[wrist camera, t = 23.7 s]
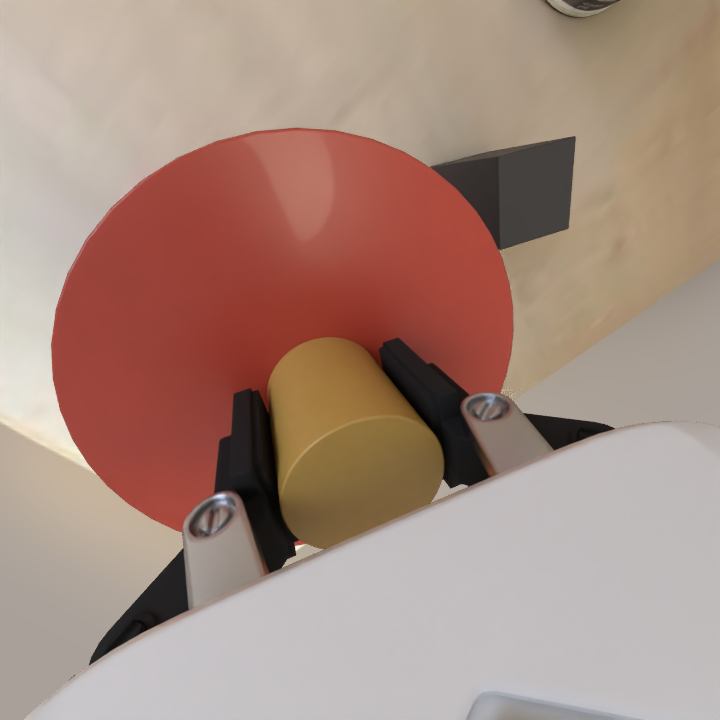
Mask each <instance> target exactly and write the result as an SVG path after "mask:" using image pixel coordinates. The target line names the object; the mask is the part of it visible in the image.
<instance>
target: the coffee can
mask: <svg viewBox="0 0 720 720" xmlns="http://www.w3.org/2000/svg"><path fill="white" fill-rule="evenodd" d="M547 1H548V2H549V3H550V4H551V5H552V6H553V7H554V8H555V9H557V10H558V11H560V12H562V13H564V14H566V15H570V16H574V17H587V16H591V15H595V14H597V13H599V12H602V11H604V10H606V9H607V8H609V7H610V6H612V5H613V4H614V3H616V2H618V1H619V0H547Z"/></svg>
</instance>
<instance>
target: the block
mask: <svg viewBox="0 0 720 720" xmlns="http://www.w3.org/2000/svg"><path fill="white" fill-rule="evenodd" d="M575 139H576V137H575V136H573V137H568V138H562V139H557V140H551V141H546V142H540V143H535V144H529V145H523V146H518V147H512V148H507V149H501V150H496V151H490V152H486V153H482V154H478V155H474V156H470V157H466V158H463V159H459V160H455V161H451V162H447V163H443V164H439V165H435V166H431V168H432V169H433V170H435V171H436V172H437V173H438V174H439V175H441V176H442V177H443V178H444V179H445V180H447V181H448V182H449V183H450V184H451V185H453V186H454V187H455V188H456V189H457V190H458V191H459V192H460V193H461V194H462V196H463V197H464V198H465V199H466V200H467V201H468V202H469V204H470V205H471V206H472V207H473V208H474V209H475V210H476V212H477V213H478V215H479V216H480V218H481V219H482V221H483V222H484V224H485V226H486V227H487V229H488V230H489V232H490V233H491V235H492V237H493V239H494V242H495V244H496V246H497V248H498V250H501V249H505V248H508V247H511V246H514V245H517V244H521V243H524V242H527V241H530V240H534V239H537V238H540V237H543V236H546V235H550V234H553V233H556V232H559V231H562V230H566V229H568V228H569V215H570V203H571V190H572V177H573V165H574V152H575Z"/></svg>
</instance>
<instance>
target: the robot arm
mask: <svg viewBox="0 0 720 720" xmlns="http://www.w3.org/2000/svg"><path fill="white" fill-rule="evenodd" d="M379 354H380V358H381V363H382V368H383V371H384V372H385V373H386V375H387V376H388V377H389V378H390V380H391V381H392V382H393V383H394V385H395V386H396V387H397V388H398V389H399V391H400V392H401V393H402V394H403V396H404V397H405V398H406V399H407V401H408V402H409V403H410V404H411V406H412V407H413V408H414V409H415V411H416V412H417V413H418V414H419V416H420V417H421V418H422V419H423V421H424V422H425V423H426V424H427V426H428V427H429V428H430V429H431V431H432V432H433V433H434V434H435V435H436V437H437V438H438V440H439V442H440V444H441V447H442V450H443V454H444V474H443V478H442V480H443V479H444V480H445V482H446V483H447V484H448V486H449V487H450V488H453V487H455V486H458V485H460V484H464V485H468V487H467V488H465V489H462V490H460V491H458V492H455V493H453V494H451V495H448V496H446V497H444V498H442V499H439V500H437V501H434V502H432V503H430V504H427V505H425V506H423V507H420V508H418V509H416V510H414V511H411V512H409V513H407V514H404V515H402V516H400V517H397V518H395V519H393V520H391V521H388V522H386V523H384V524H381V525H379V526H377V527H374V528H372V529H370V530H368V531H365V532H363V533H361V534H358V535H356V536H354V537H351V538H349V539H347V540H345V541H342V542H340V543H338V544H335V545H333V546H331V547H329V548H326V549H324V550H322V551H320V552H317V553H315V554H313V555H311V556H308V557H306V558H304V559H302V560H299V561H297V562H295V563H292V564H290V565H288V566H286V567H283V568H282V566H283V565H284V563H285V562H286V560H287V559H289V558H291V557H293V556H296V551H295V544H294V543H295V542H297V541H299V539H298V538H297V537H296V536H295V535H293V534H292V532H291V531H290V530H289V529H288V528H287V526H286V524H285V522H284V521H283V518H282V515H281V512H280V504H279V496H278V487H277V478H276V470H275V461H274V452H273V444H272V435H271V426H270V417H269V413H268V410H267V408H266V406H265V404H264V401H263V399H262V397H261V394H260V392H259V390H255V391H252V389H251V388H248V389H245V390H242V391H239V392H237V393H234V394H233V411H232V429H231V435H229V436H226V437H224V438H221V439H220V441H219V449H218V459H217V468H216V478H215V488H214V494H213V495H210V496H208V497H207V498H205V499H204V500H202V501H201V502H199V503H198V504H197V505H196V506H195V507H194V508H193V509H192V510H191V512H190V513H189V514H188V516H187V517H186V520H185V522H184V524H183V530H182V536H183V549H182V550H181V551H180V552H179V553H178V554H177V556H176V557H175V558H174V559H173V560H172V561H171V562H170V563H169V564H168V566H167V567H166V568H165V569H164V570H163V571H162V572H161V573H160V574H159V576H158V577H157V578H156V579H155V580H154V581H153V582H152V583H151V584H150V585H149V587H148V588H147V589H146V590H145V591H144V592H143V593H142V594H141V595H140V597H139V598H138V599H137V600H136V601H135V602H134V603H133V604H132V606H131V607H130V608H129V609H128V610H127V611H126V612H125V613H124V614H123V615H122V617H121V618H120V619H119V620H118V621H117V622H116V623H115V624H114V625H113V627H112V628H111V629H110V630H109V631H108V632H107V634H106V635H105V636H104V637H103V639H102V640H101V641H100V643H99V644H98V646H97V648H96V650H95V652H94V653H93V655H92V657H91V660H90V663H89V666H88V667H87V668H85V669H84V670H82V671H81V672H79V673H78V674H77V675H74V676H73V677H72V678H71V679H70V680H69V681H68V682H67V683H65V684H64V685H63V686H62V687H60V688H59V689H58V690H57V691H55V692H54V693H53V694H52V695H51V696H49V697H48V698H47V699H45V700H44V701H43V702H42V703H41V704H40V705H39V706H38V707H37V708H36V709H34V710H33V711H32V712H31V713H30V714H29V715H28V716H27V717H26V718H25V719H24V720H720V427H718V426H714V425H710V424H705V423H700V422H689V421H663V422H652V423H641V424H636V425H631V426H625V427H620V428H617V429H615V428H613V427H610V426H608V425H605V424H601V423H596V422H590V421H582V420H574V419H565V418H557V417H550V416H542V415H534V414H526V413H522V411H521V410H520V409H519V408H518V407H517V405H516V404H515V403H514V402H513V401H512V400H511V399H510V398H509V397H507V396H505V395H503V394H501V393H496V392H486V391H485V392H477V393H474V394H471V395H469V394H468V393H467V392H466V391H465V390H464V389H463V388H461V387H460V386H459V385H458V384H457V383H456V382H455V381H453V380H452V379H451V378H450V377H449V376H448V375H447V374H445V373H444V372H443V371H442V370H441V369H440V368H439V367H437V366H436V365H435V364H434V363H429V364H427V363H426V362H425V361H424V360H423V359H421V358H420V357H419V356H418V355H417V354H416V353H415V352H414V351H413V350H412V349H410V348H409V347H408V346H407V345H406V344H405V343H404V342H403V341H402V340H401V339H399V338H395V339H392V340H389V341H386V342H383V347H381V348H379Z"/></svg>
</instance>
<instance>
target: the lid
mask: <svg viewBox="0 0 720 720" xmlns="http://www.w3.org/2000/svg"><path fill="white" fill-rule="evenodd" d="M395 338H399V339H401V340H402V341H403V342H404V343H405V344H406V345H407V346H408V347H409V348H410V349H412V350H413V351H414V352H415V353H416V354H417V355H418V356H419V357H420V358H421V359H423V360H424V361H425V362H426V363H427V364H429V363H434V364H435V365H436V366H437V367H439V368H440V369H441V370H442V371H443V372H444V373H445V374H447V375H448V376H449V377H450V378H451V379H452V380H453V381H455V382H456V383H457V384H458V385H459V386H460V387H461V388H463V389H464V390H465V391H466V392H467V393H468V394H469V395H471V394H474V393H477V392H485V391H486V392H496V393H500V392H501V389H502V386H503V383H504V381H505V378H506V374H507V370H508V365H509V361H510V356H511V349H512V340H513V304H512V297H511V291H510V284H509V280H508V277H507V273H506V270H505V266H504V263H503V260H502V257H501V255H500V253H499V250H498V248H497V246H496V244H495V242H494V239H493V237H492V235H491V233H490V232H489V230H488V229H487V227H486V226H485V224H484V222H483V221H482V219H481V218H480V216H479V215H478V213H477V212H476V210H475V209H474V208H473V207H472V206H471V205H470V204H469V202H468V201H467V200H466V199H465V198H464V197H463V196H462V194H461V193H460V192H459V191H458V190H457V189H456V188H455V187H454V186H453V185H451V184H450V183H449V182H448V181H447V180H445V179H444V178H443V177H442V176H441V175H439V174H438V173H437V172H436V171H435V170H433V169H432V168H430V167H429V166H427V165H425V164H424V163H422V162H420V161H419V160H417V159H415V158H414V157H412V156H410V155H409V154H407V153H405V152H403V151H401V150H398V149H396V148H393V147H391V146H388V145H386V144H383V143H381V142H378V141H376V140H374V139H370V138H366V137H362V136H357V135H353V134H349V133H345V132H340V131H336V130H322V129H308V128H288V129H276V130H265V131H255V132H251V133H247V134H243V135H239V136H235V137H231V138H227V139H223V140H219V141H216V142H213V143H211V144H209V145H206V146H204V147H202V148H199V149H197V150H194V151H192V152H190V153H187V154H185V155H183V156H180V157H178V158H176V159H175V160H173V161H172V162H170V163H168V164H167V165H165V166H164V167H162V168H160V169H159V170H157V171H156V172H154V173H153V174H151V175H149V176H148V177H146V178H145V179H143V180H142V181H141V182H139V183H138V184H137V185H136V186H135V187H134V188H133V189H132V190H130V191H129V192H128V193H127V194H126V195H125V196H124V197H123V198H122V199H120V200H119V201H118V202H117V203H116V204H115V205H114V206H113V207H111V209H110V210H109V211H108V212H107V214H106V215H105V216H104V217H103V219H102V220H101V221H100V222H99V224H98V225H97V226H96V227H95V229H94V230H93V231H92V233H91V234H90V235H89V236H88V238H87V239H86V240H85V242H84V244H83V246H82V248H81V250H80V252H79V253H78V255H77V257H76V259H75V261H74V263H73V264H72V266H71V268H70V270H69V272H68V274H67V277H66V280H65V283H64V286H63V289H62V292H61V295H60V298H59V301H58V304H57V307H56V312H55V320H54V327H53V335H52V342H51V350H52V371H53V381H54V386H55V390H56V394H57V399H58V403H59V407H60V411H61V414H62V416H63V418H64V421H65V423H66V425H67V428H68V430H69V432H70V435H71V437H72V439H73V441H74V443H75V444H76V446H77V447H78V449H79V450H80V452H81V454H82V455H83V457H84V458H85V460H86V461H87V463H88V464H89V466H90V467H91V468H92V469H93V470H94V471H95V472H96V474H97V475H98V476H99V477H100V478H101V479H102V480H103V482H104V483H105V484H106V485H107V486H108V487H109V488H110V489H112V490H113V491H114V492H115V493H116V494H117V495H119V496H120V497H121V498H122V499H123V500H125V501H126V502H127V503H128V504H129V505H131V506H132V507H134V508H136V509H137V510H139V511H140V512H142V513H143V514H145V515H147V516H148V517H150V518H151V519H153V520H155V521H158V522H159V523H161V524H164V525H166V526H168V527H170V528H172V529H174V530H176V531H179V532H182V530H183V524H184V522H185V520H186V517H187V516H188V514H189V513H190V512H191V510H192V509H193V508H194V507H195V506H196V505H197V504H198V503H199V502H201V501H202V500H204V499H205V498H207V497H208V496H210V495H213V494H214V488H215V478H216V468H217V459H218V449H219V441H220V439H221V438H224V437H226V436H229V435H231V429H232V411H233V394H234V393H237V392H239V391H242V390H245V389H248V388H251V389H252V391H255V390H259V392H260V394H261V397H262V399H263V401H264V404H265V406H266V408H267V410H268V413H269V417H270V426H271V435H272V444H273V452H274V461H275V470H276V478H277V487H278V496H279V504H280V512H281V515H282V518H283V521H284V522H285V524H286V526H287V528H288V529H289V530H290V531H291V532H292V534H293V535H295V536H296V537H297V538H298V539H299V541H297V542H295V543H294V544H295V546H296V545H303V544H308V545H311V546H313V547H317V548H320V549H326V548H329V547H331V546H333V545H335V544H338V543H340V542H342V541H345V540H347V539H349V538H351V537H354V536H356V535H358V534H361V533H363V532H365V531H368V530H370V529H372V528H374V527H377V526H379V525H381V524H384V523H386V522H388V521H391V520H393V519H395V518H397V517H400V516H402V515H404V514H407V513H409V512H411V511H414V510H416V509H418V508H420V507H423V506H425V505H427V504H430V503H431V502H432V500H433V499H434V497H435V495H436V493H437V492H438V489H439V487H440V484H441V482H442V478H443V474H444V454H443V450H442V447H441V444H440V442H439V440H438V438H437V437H436V435H435V434H434V433H433V432H432V431H431V429H430V428H429V427H428V426H427V424H426V423H425V422H424V421H423V419H422V418H421V417H420V416H419V414H418V413H417V412H416V411H415V409H414V408H413V407H412V406H411V404H410V403H409V402H408V401H407V399H406V398H405V397H404V396H403V394H402V393H401V392H400V391H399V389H398V388H397V387H396V386H395V385H394V383H393V382H392V381H391V380H390V378H389V377H388V376H387V375H386V373H385V372H384V371H383V368H382V363H381V358H380V354H379V348H381V347H383V342H386V341H389V340H392V339H395Z"/></svg>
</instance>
